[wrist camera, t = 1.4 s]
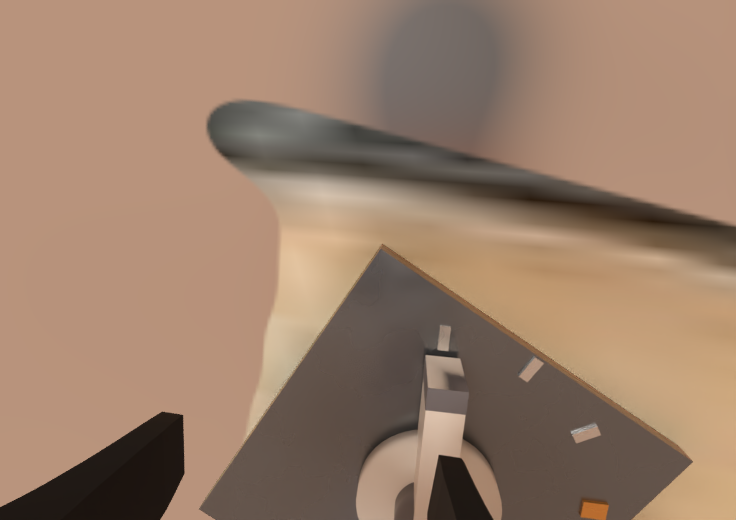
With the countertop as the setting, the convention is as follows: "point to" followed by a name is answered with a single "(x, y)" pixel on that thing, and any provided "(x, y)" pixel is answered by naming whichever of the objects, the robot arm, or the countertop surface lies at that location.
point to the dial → (425, 452)
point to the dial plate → (402, 406)
